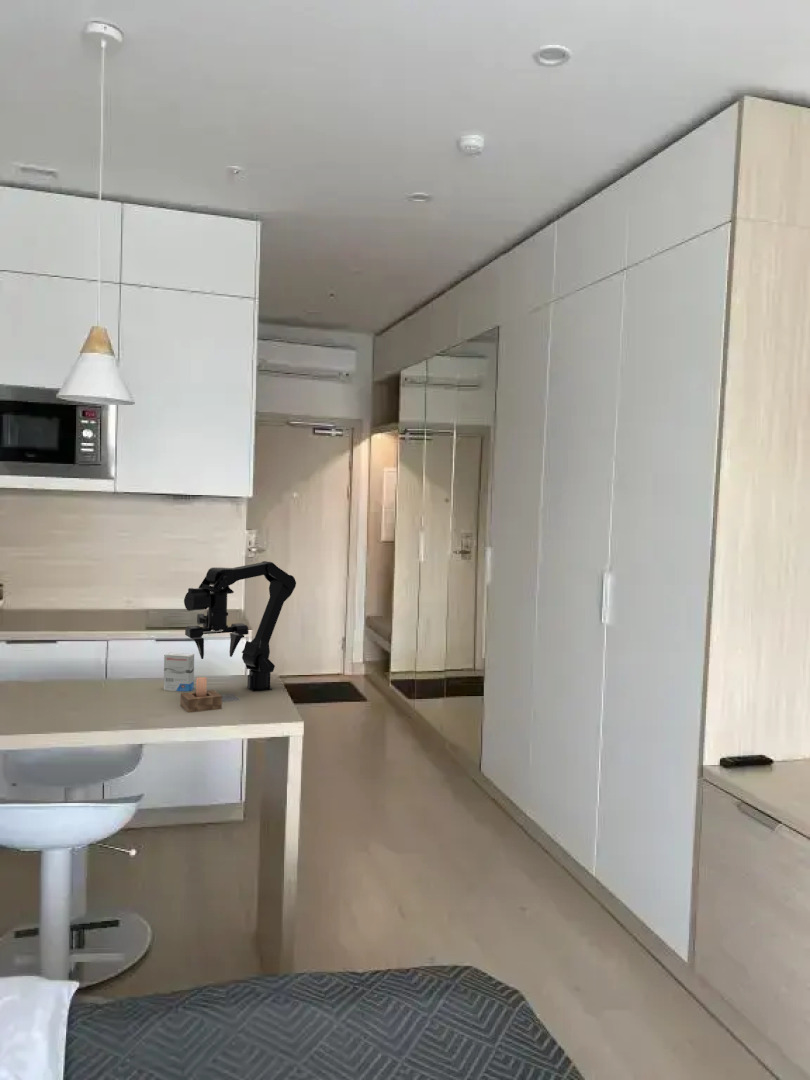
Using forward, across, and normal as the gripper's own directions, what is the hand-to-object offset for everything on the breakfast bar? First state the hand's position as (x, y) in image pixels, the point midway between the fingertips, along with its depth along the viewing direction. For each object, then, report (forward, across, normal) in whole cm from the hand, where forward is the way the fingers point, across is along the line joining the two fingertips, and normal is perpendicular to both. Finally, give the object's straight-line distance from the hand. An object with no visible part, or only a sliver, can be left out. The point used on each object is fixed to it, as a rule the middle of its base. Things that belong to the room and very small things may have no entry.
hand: (216, 657), depth 262 cm
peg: (+12, +8, +10) cm, 18 cm away
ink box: (+13, +8, -13) cm, 20 cm away
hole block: (+12, +8, +10) cm, 18 cm away
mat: (+12, -2, +4) cm, 13 cm away
